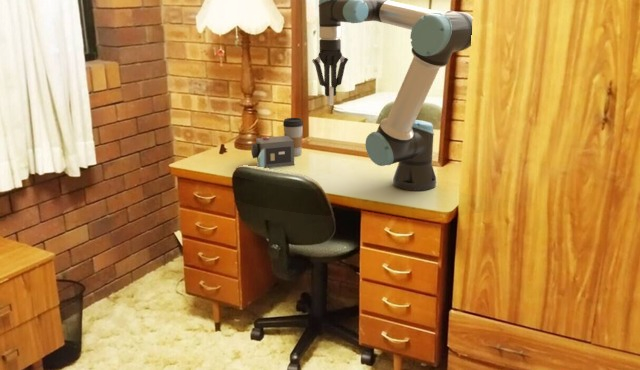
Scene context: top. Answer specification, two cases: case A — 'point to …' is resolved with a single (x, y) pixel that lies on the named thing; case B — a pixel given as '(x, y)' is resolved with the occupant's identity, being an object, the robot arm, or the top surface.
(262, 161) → the side door
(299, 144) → the coffee cup
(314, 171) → the top surface
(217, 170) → the top surface
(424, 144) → the robot arm
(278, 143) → the camera body
